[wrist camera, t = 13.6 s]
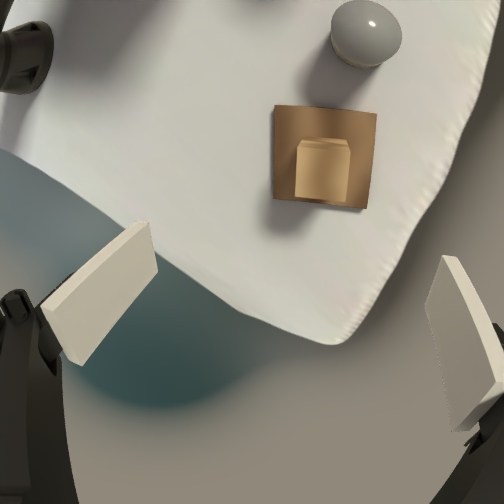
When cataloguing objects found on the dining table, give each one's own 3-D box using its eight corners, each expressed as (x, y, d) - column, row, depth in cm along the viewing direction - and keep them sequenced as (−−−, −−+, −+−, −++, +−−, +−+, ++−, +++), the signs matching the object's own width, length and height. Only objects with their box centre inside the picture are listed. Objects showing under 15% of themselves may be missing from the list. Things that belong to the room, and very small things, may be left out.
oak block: (302, 175, 36) (294, 196, 29) (304, 135, 33) (297, 146, 27) (342, 179, 35) (345, 202, 28) (346, 140, 32) (350, 152, 26)
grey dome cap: (331, 65, 29) (331, 58, 24) (330, 13, 26) (330, -4, 20) (388, 72, 28) (402, 67, 22) (388, 20, 24) (400, 6, 18)
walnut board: (275, 195, 39) (273, 198, 38) (276, 105, 33) (274, 105, 32) (365, 205, 37) (366, 208, 36) (375, 113, 31) (376, 114, 30)
